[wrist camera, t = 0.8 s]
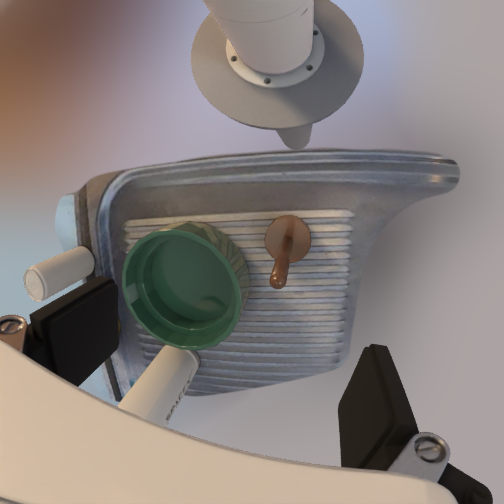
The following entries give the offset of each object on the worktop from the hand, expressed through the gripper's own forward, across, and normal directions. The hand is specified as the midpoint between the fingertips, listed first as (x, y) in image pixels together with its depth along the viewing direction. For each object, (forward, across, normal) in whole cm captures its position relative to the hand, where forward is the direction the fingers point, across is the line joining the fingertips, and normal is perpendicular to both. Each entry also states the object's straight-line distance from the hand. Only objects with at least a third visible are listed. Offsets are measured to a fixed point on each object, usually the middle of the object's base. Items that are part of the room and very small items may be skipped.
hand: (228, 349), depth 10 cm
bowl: (+26, +10, +9) cm, 30 cm away
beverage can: (+27, +29, +11) cm, 41 cm away
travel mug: (+27, +11, +23) cm, 37 cm away
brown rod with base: (+26, -1, +1) cm, 26 cm away
